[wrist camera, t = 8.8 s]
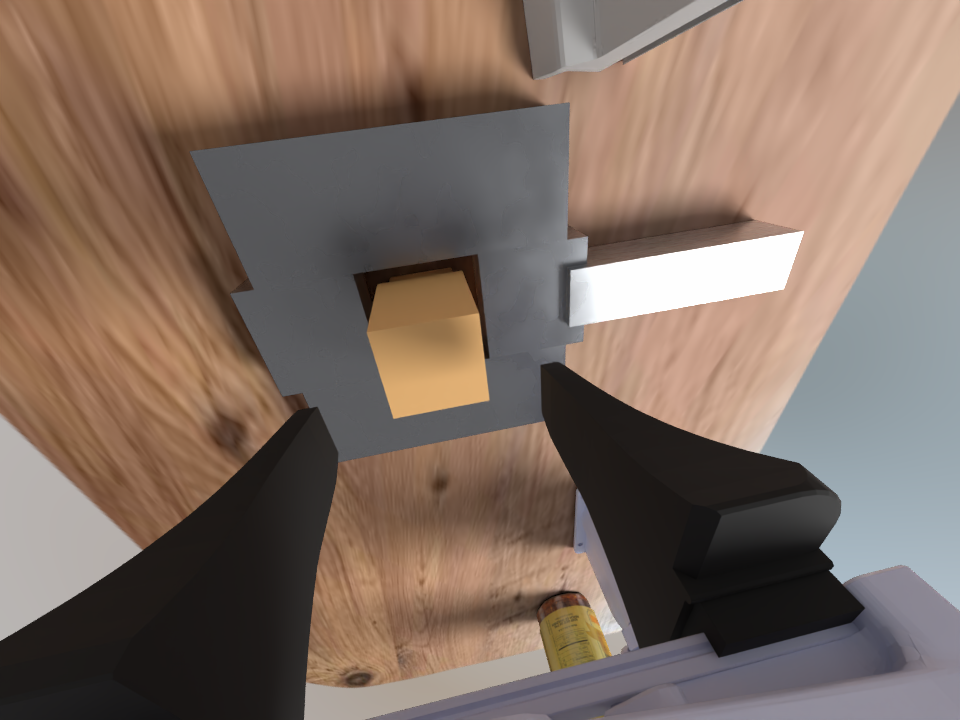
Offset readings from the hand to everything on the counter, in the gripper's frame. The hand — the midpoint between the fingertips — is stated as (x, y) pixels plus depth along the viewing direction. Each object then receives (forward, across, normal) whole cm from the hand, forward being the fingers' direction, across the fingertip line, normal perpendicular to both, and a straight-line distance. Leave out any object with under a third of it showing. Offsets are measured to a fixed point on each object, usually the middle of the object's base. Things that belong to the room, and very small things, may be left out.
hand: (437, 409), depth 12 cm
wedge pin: (+9, 0, 0) cm, 9 cm away
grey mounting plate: (+9, -6, 0) cm, 11 cm away
